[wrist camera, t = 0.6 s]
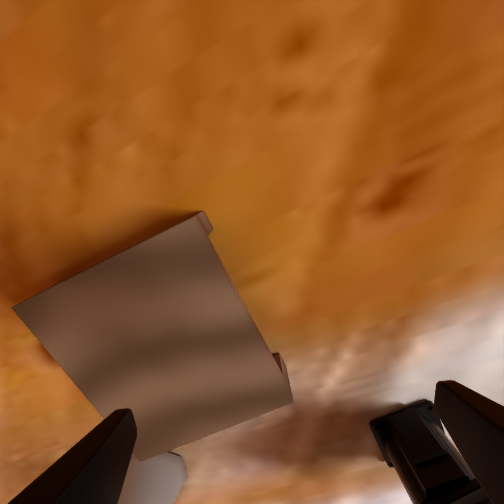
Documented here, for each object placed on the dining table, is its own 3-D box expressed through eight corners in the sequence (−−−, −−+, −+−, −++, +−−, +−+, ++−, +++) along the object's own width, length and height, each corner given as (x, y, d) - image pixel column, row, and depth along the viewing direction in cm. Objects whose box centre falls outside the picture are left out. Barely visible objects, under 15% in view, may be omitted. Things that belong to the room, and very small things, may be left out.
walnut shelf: (286, 365, 23) (293, 402, 19) (156, 418, 25) (140, 462, 21) (203, 210, 19) (192, 217, 15) (55, 284, 21) (11, 307, 17)
